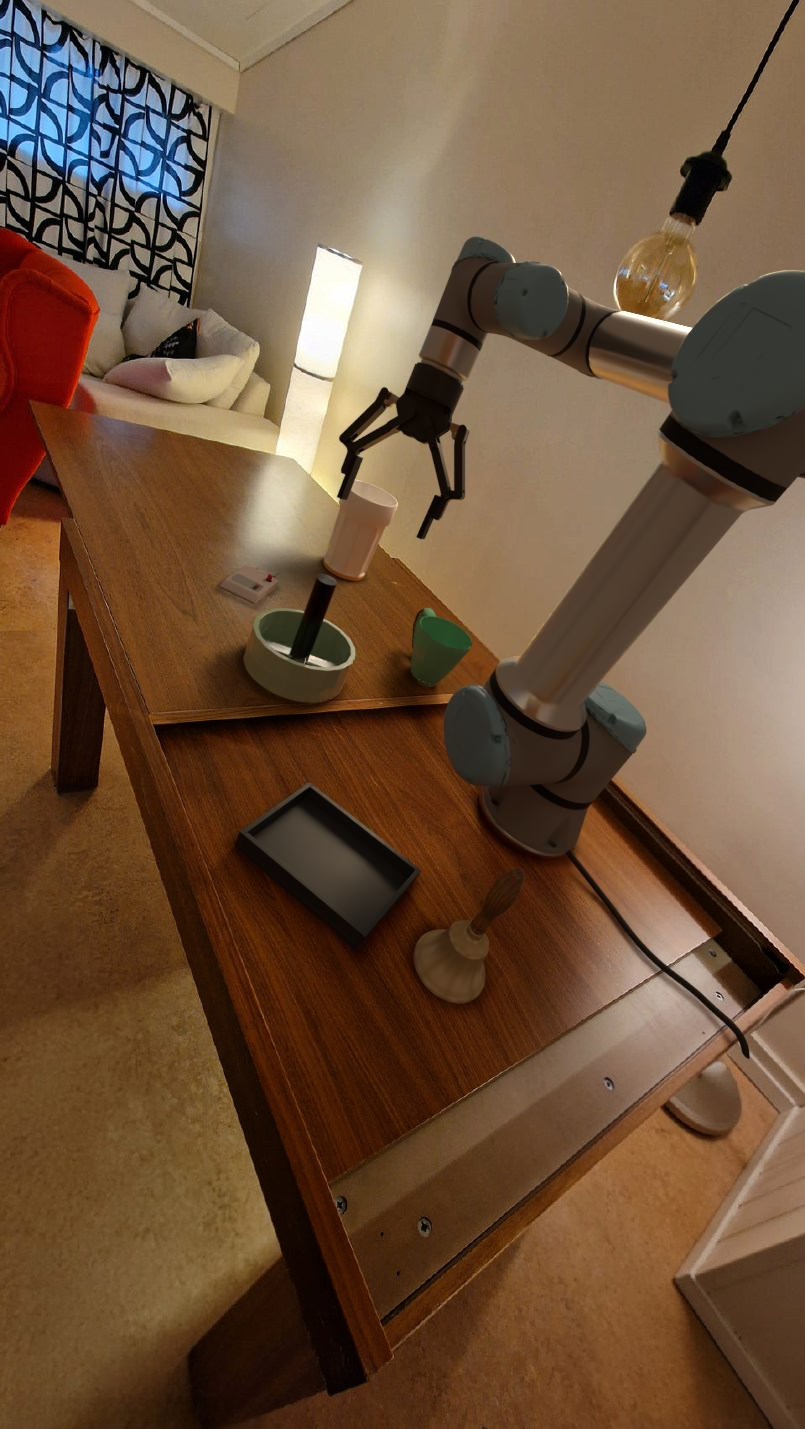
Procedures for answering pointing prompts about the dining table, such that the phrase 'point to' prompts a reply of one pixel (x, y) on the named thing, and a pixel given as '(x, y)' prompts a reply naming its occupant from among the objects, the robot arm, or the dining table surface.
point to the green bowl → (289, 674)
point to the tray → (328, 862)
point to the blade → (310, 624)
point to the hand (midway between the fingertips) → (380, 518)
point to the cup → (358, 530)
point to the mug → (436, 647)
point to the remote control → (250, 583)
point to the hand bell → (464, 946)
